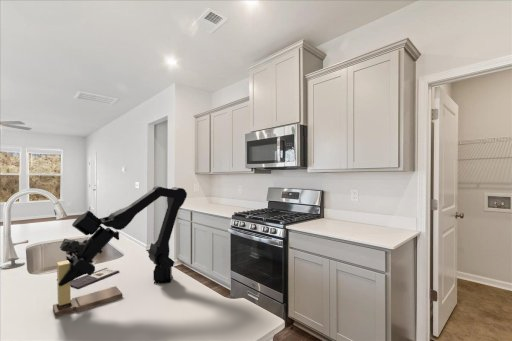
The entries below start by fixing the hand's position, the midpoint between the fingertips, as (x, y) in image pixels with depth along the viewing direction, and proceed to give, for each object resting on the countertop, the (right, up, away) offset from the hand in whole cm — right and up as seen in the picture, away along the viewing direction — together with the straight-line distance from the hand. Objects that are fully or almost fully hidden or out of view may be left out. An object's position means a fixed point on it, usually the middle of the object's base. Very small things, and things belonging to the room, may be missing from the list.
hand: (58, 283), depth 86 cm
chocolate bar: (-5, -10, +26) cm, 29 cm away
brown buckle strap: (+6, -9, +6) cm, 13 cm away
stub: (+1, -7, +1) cm, 7 cm away
